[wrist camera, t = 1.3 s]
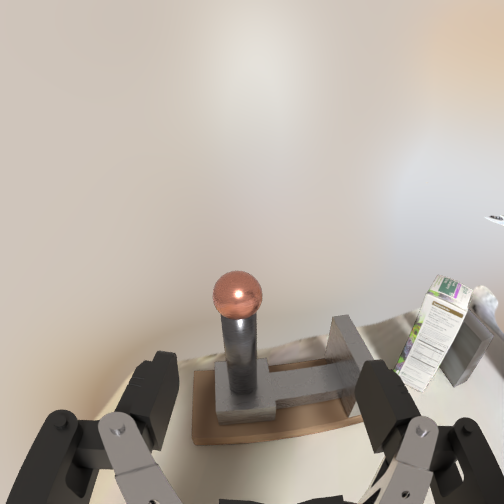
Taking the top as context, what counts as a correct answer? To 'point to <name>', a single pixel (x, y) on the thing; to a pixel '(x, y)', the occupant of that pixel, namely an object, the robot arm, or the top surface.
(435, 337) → the syrup box
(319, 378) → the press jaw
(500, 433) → the top surface
